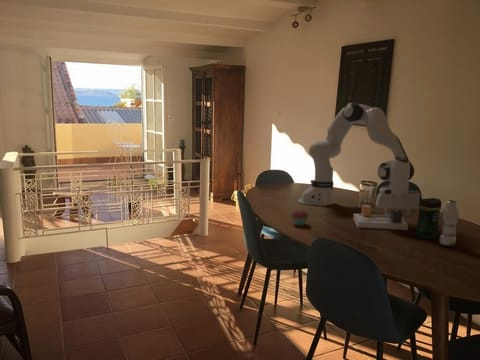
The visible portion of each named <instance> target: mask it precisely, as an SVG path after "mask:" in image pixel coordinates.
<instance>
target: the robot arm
mask: <svg viewBox="0 0 480 360" xmlns="http://www.w3.org/2000/svg"><path fill="white" fill-rule="evenodd" d="M354 124H356V125H364V126H366V130H367V135H368V138H369V139H370V140H371V141H372V142H373V143H375V144H378V145H380V146H384V147H386V148H388V149H389V150H390V151H391V152H392V154H393V156H394V157H393V158H392V159H391V160H390V161H385V162H382V163H381V164H380V165H379V166H378V169H377V175H378V177H379V179H381V180H382V181H384V182H389V185H386V186H382V187H380V188H379V193H377V197H376V203H375V205H376V207H377V208H378V209H383V211H384V215H385V216H386V217H389V215H390V213H389V212H388V209H392V210H396V209H397V210H406V212H405V213H404V214H403V219H404V218H405V219H408V218H409V214H410V213H411V211H412V210H417V211H419V203H420V200H421V193H420V191H418V190H410V189H409V186H410V182H409V181H410V180H411V179H412V178H413V177H414V175H415V168H414V165H413V164H412V162H411V161H410V159H409V157H408V155H407V153H406V151H405V149H404V147H403V145H402V142H401V140H400V139H399V136H398V135H396V134H395V133H394V132H393V131H392V129H391V128H390V126H389V123H388V119H387V117H386V115H385V112H384V111H383V109H381V108H380V107H376V106H375V107H372V106H369V105H367V104H362V103H361V104H360V103H357V102H349V103H347V104H346V105H345V106H344V107H342V109H341V110H340V111H339V112H338V113H337V114H336V116H335V117H334V118H333V120H332V121H331V123H330V125H329V127H328V128H327V129H326V130H327V131H326V132H327V136H326V138H325V140H320V141H316V142H314V143H313V144H311V145H310V146H309V149H308V153H309V156H310V157H311V158H312V161H313V163H314V179H311V180H310V186H309V187H307V188H306V189H305V190H303V192H302V195H301V197H300V198H298V200H297V202H298V203H299V204H300V203H301V205H303V203H304V202H305V203H304V205H311V206H321V207H322V206H323V207H325V206H331V205H333V204H335V201H334V197H333V190H334V180H333V178H334V168H333V167H332V165H331V161H330V159H333V158H335V157H338V156H339V154H340V153H341V151H342V147H341V146H342V144H343V141H344V139H345V137H346V136H347V134H348V133H349V131H350V129H351V128H352V126H353V125H354Z"/></svg>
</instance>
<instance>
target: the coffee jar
mask: <svg viewBox="0 0 480 360" xmlns="http://www.w3.org/2000/svg"><path fill="white" fill-rule="evenodd" d="M441 209H442V201H441V199H440V198H439V199H438V198H436V197H429V198H422V199H419V209H418V219H417V225H416V230H415V236H416V237H418V238H419V239H425V240H433V239H437V238H439V225H440V224H439V223H440V222H439V220H440V213H441Z"/></svg>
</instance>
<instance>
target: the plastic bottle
mask: <svg viewBox="0 0 480 360" xmlns="http://www.w3.org/2000/svg"><path fill="white" fill-rule="evenodd" d="M457 205H458V204H457V201H456V200H452V199H451V200H450V199H449V200H446V207H445V208H444V209H443V210H442V213H441V214H442V216H441V217H442V222H441V223H442V225H441V230H440V231H441V232H440V234H439V236H438V241H439V242H438V243H439V244H440V245H442V246H445V247H453V246H455V245H456V242H457V231H456V229H457V223H458V220H459V216H460V212H459V210H458V208H457Z"/></svg>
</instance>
